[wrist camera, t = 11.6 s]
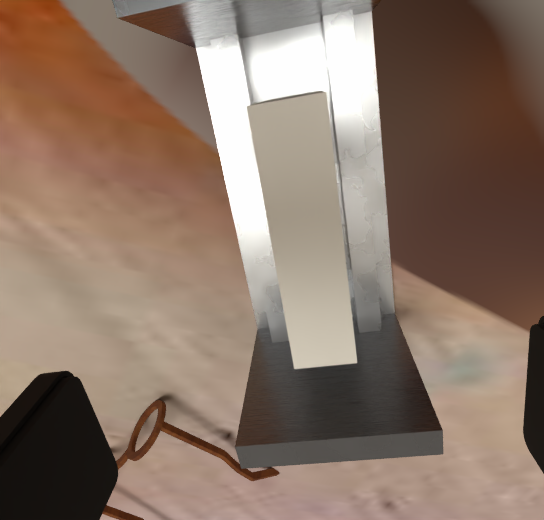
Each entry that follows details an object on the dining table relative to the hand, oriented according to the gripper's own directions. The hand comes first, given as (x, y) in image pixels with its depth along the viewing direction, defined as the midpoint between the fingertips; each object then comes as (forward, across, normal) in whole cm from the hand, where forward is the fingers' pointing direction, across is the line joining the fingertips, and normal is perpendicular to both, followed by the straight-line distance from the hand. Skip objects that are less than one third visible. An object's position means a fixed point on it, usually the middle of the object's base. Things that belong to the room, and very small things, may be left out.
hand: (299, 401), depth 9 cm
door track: (+20, 0, 0) cm, 21 cm away
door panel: (+20, 0, 0) cm, 20 cm away
